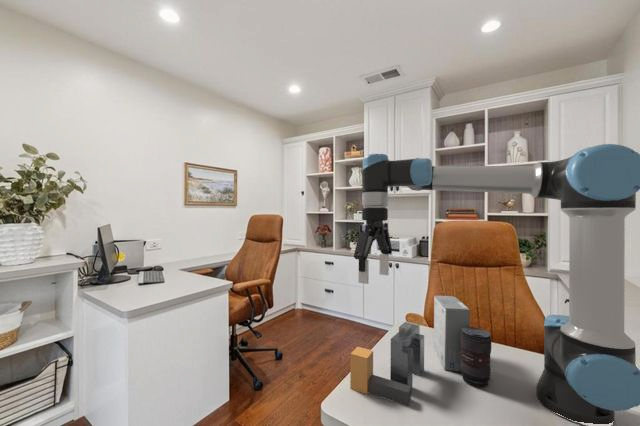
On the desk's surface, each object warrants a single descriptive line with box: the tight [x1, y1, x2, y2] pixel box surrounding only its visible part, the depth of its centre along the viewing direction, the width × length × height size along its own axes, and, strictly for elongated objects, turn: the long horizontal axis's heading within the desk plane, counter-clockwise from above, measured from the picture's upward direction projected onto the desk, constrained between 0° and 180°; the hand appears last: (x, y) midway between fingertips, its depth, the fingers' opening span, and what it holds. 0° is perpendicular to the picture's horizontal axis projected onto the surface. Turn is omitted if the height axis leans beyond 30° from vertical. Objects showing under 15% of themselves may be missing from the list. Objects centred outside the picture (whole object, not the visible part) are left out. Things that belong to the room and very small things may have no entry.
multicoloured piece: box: [349, 346, 412, 407], centre depth 79 cm, size 16×5×10 cm, turn 60°
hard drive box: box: [433, 295, 471, 372], centre depth 97 cm, size 16×8×20 cm, turn 171°
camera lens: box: [460, 326, 492, 389], centre depth 84 cm, size 8×8×15 cm
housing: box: [389, 321, 425, 390], centre depth 85 cm, size 5×15×16 cm, turn 143°
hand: (374, 278), depth 84 cm, fingers open, 13 cm apart
